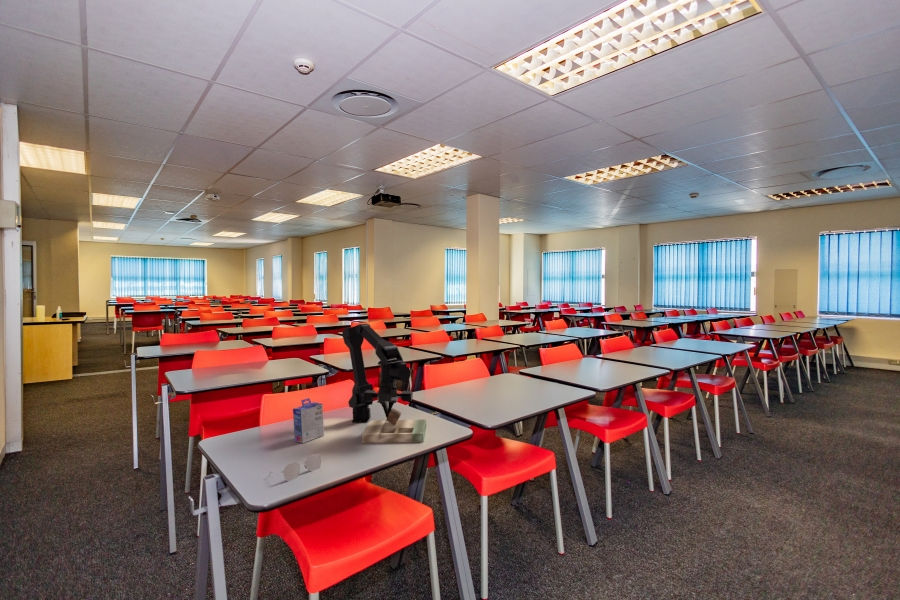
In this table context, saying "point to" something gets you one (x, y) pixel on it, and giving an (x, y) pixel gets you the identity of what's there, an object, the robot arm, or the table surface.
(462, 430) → the table surface
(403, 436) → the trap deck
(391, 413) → the walnut block
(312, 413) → the ink cartridge box
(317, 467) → the sunglasses
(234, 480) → the table surface
